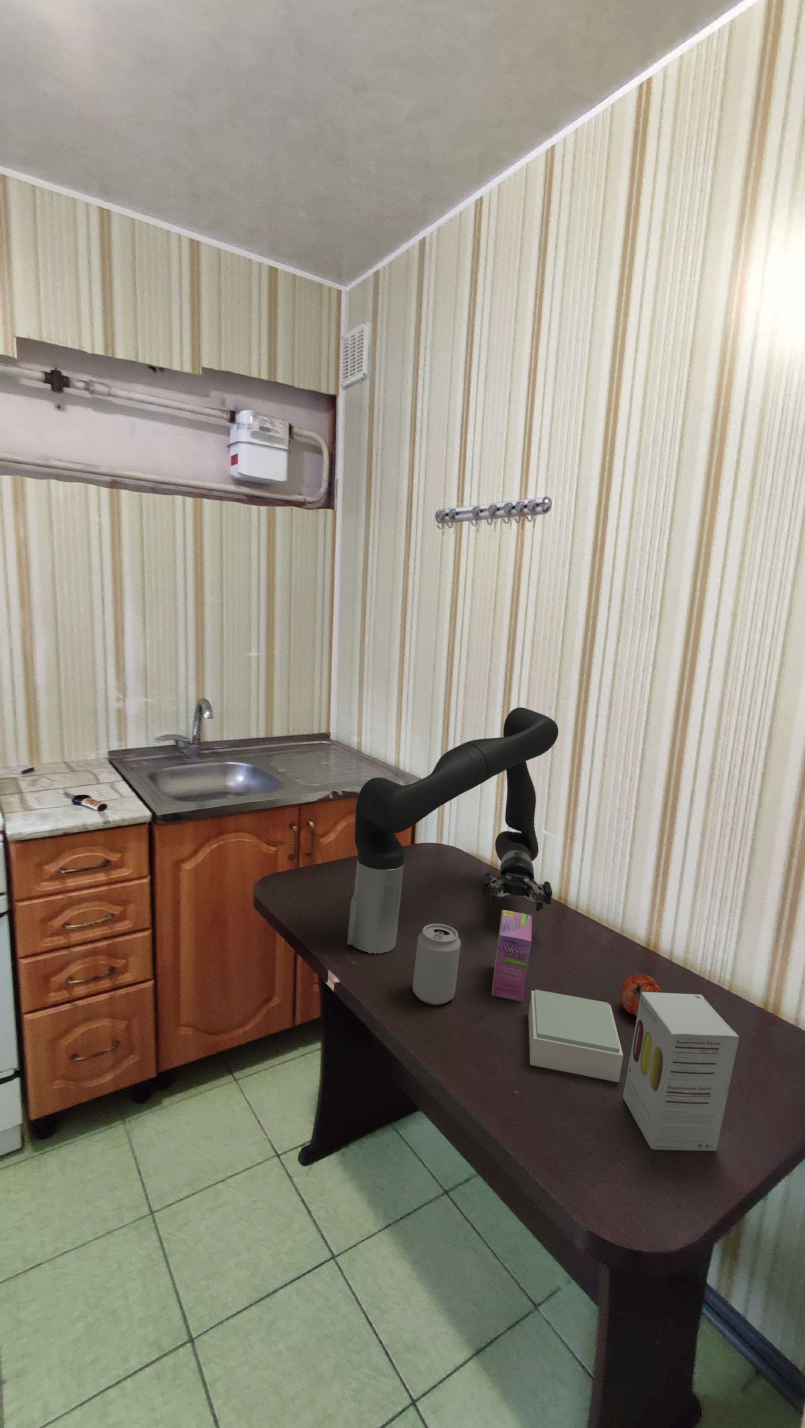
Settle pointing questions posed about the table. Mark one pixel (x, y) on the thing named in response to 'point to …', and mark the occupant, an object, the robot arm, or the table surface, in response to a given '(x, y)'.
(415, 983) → the can
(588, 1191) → the table surface
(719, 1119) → the supplement box
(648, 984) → the pomegranate
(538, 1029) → the podium
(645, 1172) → the table surface
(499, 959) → the box
